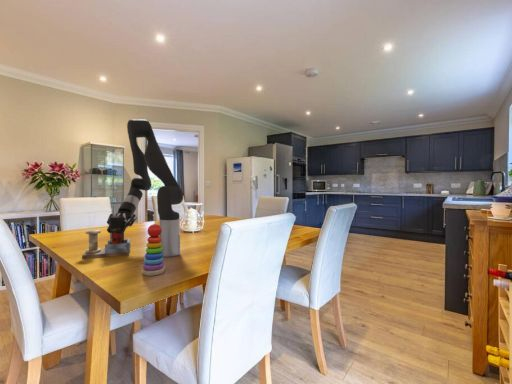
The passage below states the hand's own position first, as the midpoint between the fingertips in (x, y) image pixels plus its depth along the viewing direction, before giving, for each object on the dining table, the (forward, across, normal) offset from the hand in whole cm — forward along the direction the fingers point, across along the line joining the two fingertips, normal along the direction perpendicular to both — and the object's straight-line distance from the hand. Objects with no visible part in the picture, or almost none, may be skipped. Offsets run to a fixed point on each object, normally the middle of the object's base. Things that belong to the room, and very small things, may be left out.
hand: (114, 232), depth 124 cm
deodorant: (+4, 0, +7) cm, 8 cm away
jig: (+8, -4, +7) cm, 11 cm away
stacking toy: (+24, +32, -9) cm, 41 cm away
